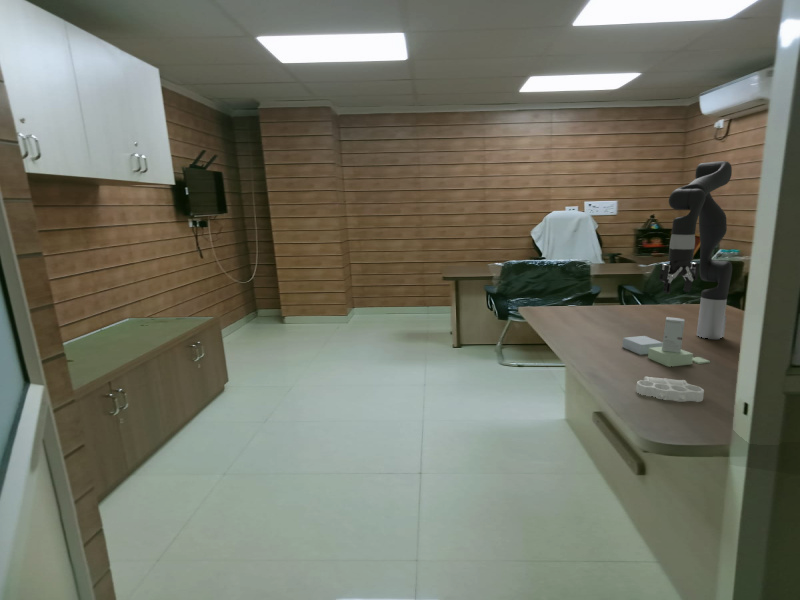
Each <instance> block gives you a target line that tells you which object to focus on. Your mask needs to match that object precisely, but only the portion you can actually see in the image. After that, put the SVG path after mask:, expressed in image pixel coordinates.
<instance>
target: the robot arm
mask: <svg viewBox="0 0 800 600" xmlns="http://www.w3.org/2000/svg"><path fill="white" fill-rule="evenodd" d="M732 171H733V169H732V164H731V163H730V162H729V161H726V160H725V161H723V160H721V161H720V160H719V161H710V162H702V163H698V165H697V167H696V169H695V178H694V180H692V181H690V183H688V184H686V185H683V186H680V187H678V188H676V189H674V190H673V191H672V192H671V194H670V196H669V198H668V204H669V207H670V208H671V209H673V210H677V211H689V212H688V214H686V215H684V216H678V217H675V218H674V219H673V221H672V226H671V227H672V228H671V236H670V240H669V247H668V248H669V249H668V260H669V264H665V263H662V264H661V265H660V271H659V276H658V281H660V282H663V288H662V289H663V293H664V294H668V295H669V294H671V292H672V290H671V289H672V281H673V280H675V279H676V278H677V277H680V276H682V277H683V279H684V284H683V291H684V292H686V293H690V292H691V290H692V287H693V286H692V284H693V281H695V280H698V278H699V277H700V279H701V280H702V281H704V282H711V283H717V285H716V286H715V287H712V288H708V289H703V290H702V291H701V294H700V295H701V296H700V303H699V304H700V305H699V312H698V319H697V329H696V336H697V337H698V336H699V337H698V338H701V337H702V339H705V338H708V339H707V340H721V339H720V338H722V337H724V338H725V332H726V331H725V330H726V323H727V315H726V309H727V302H728V301H727V300H728V295H729V289H730V284H731V279H732V275H733V274H732V273H733V265H732V263H731V261H728V260H718V259H712V255H713V251H714V250H715V248H716V247H717V246H718V245H719V243H720V242H721V241H722V239H724V237H725V235H726V234H727V231H728V230H727V229H728V228H727V227H728V226H727V224H728V223H727V215H726V213H725V211H724V210H723V209H722V208H721V206H720V205H719V204H718V203H717V202H716V200H714V198H713V196H712V194H711V192H714V191H715V190H716V189H719V188H721V187H724V186H726V185H728V183H729V182H730V180H731V179H732ZM697 222H698V231H699V242H700V243H699V247H700V251H699V253H700V254H699V263H698V262H693V261H694V256H695V255H694V253H695V246H696V229H697ZM722 339H723V338H722Z"/></svg>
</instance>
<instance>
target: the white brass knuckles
mask: <svg viewBox="0 0 800 600" xmlns="http://www.w3.org/2000/svg"><path fill="white" fill-rule="evenodd" d="M635 392H636V393H637V394H638V393H639V394H638V395H640V394H641V395H640V396H643V395H646V396H645V397H651V396H653V397H652V398H655V397H656V399H659V400H662V399H663V400H664V401H674V402H680V403H681V402H683V403H685V402H696V403H699V402H703V400H704V395H705V394H704V393H705V390H704V388H702V387H700V386H699V385H694V384H690V383H688V382H687V380H685V379H673V378H672V379H671V378H666V377H664V378H661V377H651V376H647V375H646V376H644V377H643V379H640V380H637V382H636V388H635Z"/></svg>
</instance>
